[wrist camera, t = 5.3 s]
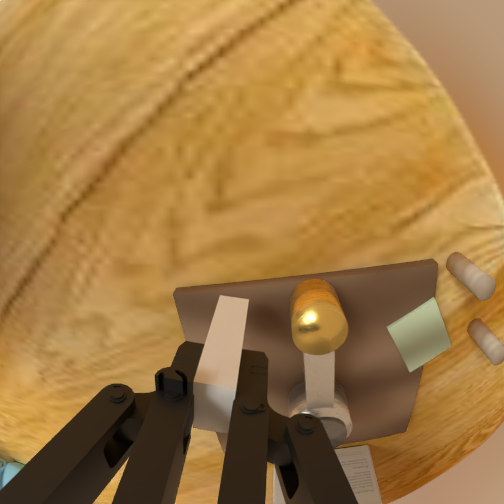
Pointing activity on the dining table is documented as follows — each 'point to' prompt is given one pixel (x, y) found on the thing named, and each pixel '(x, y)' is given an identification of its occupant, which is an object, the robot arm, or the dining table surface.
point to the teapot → (8, 471)
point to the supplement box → (349, 475)
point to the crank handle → (319, 357)
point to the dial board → (352, 334)
